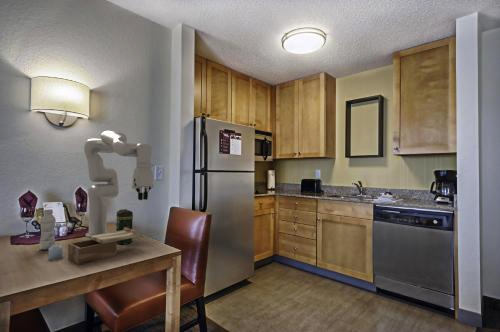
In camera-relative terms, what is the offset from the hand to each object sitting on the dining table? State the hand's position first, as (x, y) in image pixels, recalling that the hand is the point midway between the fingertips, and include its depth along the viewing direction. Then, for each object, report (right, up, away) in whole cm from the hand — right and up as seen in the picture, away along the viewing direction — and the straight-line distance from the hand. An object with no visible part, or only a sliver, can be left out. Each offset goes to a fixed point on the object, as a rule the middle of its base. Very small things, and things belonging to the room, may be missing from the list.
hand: (142, 199), depth 144 cm
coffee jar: (-13, -25, +5) cm, 29 cm away
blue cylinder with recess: (-31, -24, -22) cm, 46 cm away
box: (-15, -25, -20) cm, 35 cm away
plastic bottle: (-45, -24, -10) cm, 52 cm away
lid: (-9, -18, -12) cm, 23 cm away
